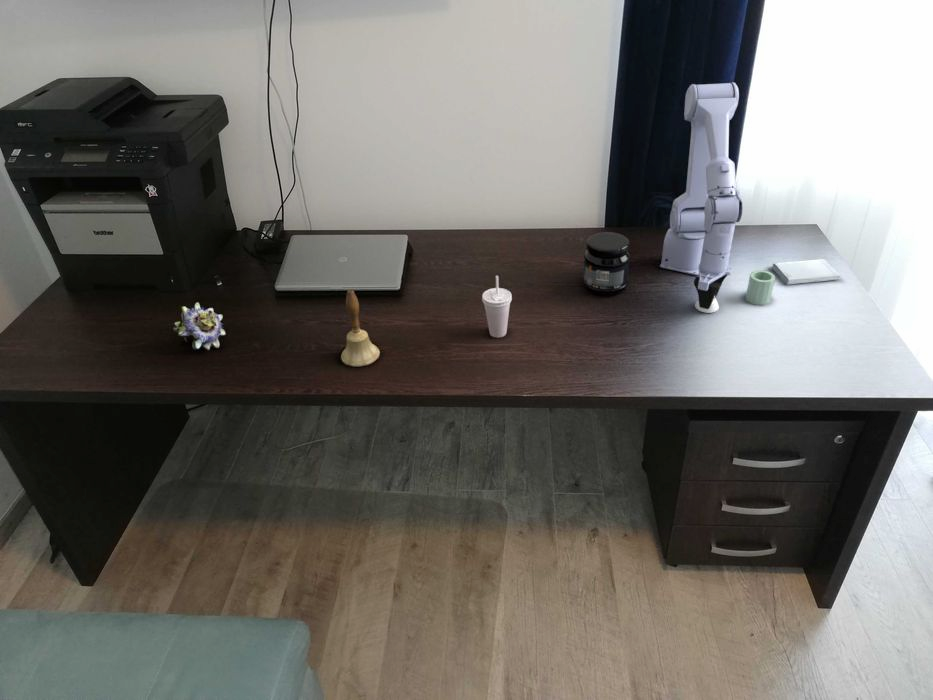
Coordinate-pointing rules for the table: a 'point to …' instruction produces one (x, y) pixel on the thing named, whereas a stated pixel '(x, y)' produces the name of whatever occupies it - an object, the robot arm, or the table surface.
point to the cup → (760, 287)
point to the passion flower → (200, 327)
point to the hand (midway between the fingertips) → (707, 303)
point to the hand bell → (357, 338)
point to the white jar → (712, 308)
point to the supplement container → (606, 263)
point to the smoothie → (497, 309)
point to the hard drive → (805, 271)
